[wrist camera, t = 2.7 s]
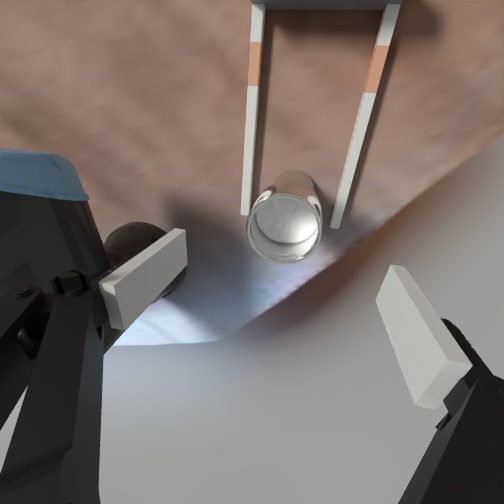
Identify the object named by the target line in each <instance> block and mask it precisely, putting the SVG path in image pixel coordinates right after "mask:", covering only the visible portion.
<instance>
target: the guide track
mask: <svg viewBox="0 0 504 504" xmlns="http://www.w3.org/2000/svg"><path fill="white" fill-rule="evenodd" d="M403 1H404V0H251V2H252V21H251V39H250V57H249V75H248V93H247V111H246V129H245V147H244V165H243V183H242V200H241V215H247V216H249V214H250V209H251V196H252V183H253V170H254V156H255V143H256V130H257V117H258V104H259V90H260V77H261V64H262V51H263V38H264V25H265V11H266V9H300V10H384V11H383V15H382V19H381V23H380V27H379V31H378V35H377V39H376V43H375V47H374V51H373V55H372V59H371V63H370V67H369V70H368V74H367V78H366V82H365V86H364V90H363V94H362V98H361V102H360V106H359V110H358V114H357V118H356V122H355V126H354V130H353V134H352V138H351V142H350V146H349V150H348V154H347V158H346V162H345V166H344V170H343V174H342V178H341V182H340V185H339V189H338V193H337V197H336V201H335V205H334V209H333V213H332V217H331V221H330V228H335V229H339V227H340V223H341V220H342V216H343V212H344V209H345V205H346V201H347V198H348V194H349V191H350V187H351V183H352V180H353V176H354V172H355V169H356V165H357V161H358V158H359V154H360V151H361V147H362V143H363V140H364V136H365V132H366V129H367V125H368V122H369V118H370V114H371V111H372V107H373V103H374V100H375V96H376V92H377V89H378V85H379V82H380V78H381V74H382V71H383V67H384V63H385V60H386V56H387V52H388V49H389V45H390V42H391V38H392V34H393V31H394V27H395V23H396V20H397V16H398V13H399V9H400V5H401V3H402V2H403Z"/></svg>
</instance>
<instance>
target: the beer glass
mask: <svg viewBox="0 0 504 504" xmlns="http://www.w3.org/2000/svg"><path fill="white" fill-rule="evenodd" d="M322 219H323V217H322V207H321V204H320V201H319V198H318V196H317V194H316V193H315V186H314V183H313V181H312V179H311V178H310V177H309V176H308V175H307V174H305V173H304V172H301V171H297V170H291V171H287V172H284V173H283V174H281V175H280V176H279V177H278V178H277V179H276V180H275V182H274V183H273V184H271V185H270V186H268V187H267V188H266V189H265V190H264V191H263V192H262V193H261V194H260V196H259V197H258V199H257V200H256V202H255V204H254V206H253V208H252V210H251V212H250V214H249V216H248V219H247V224H246V232H247V237H248V240H249V242H250V244H251V246H252V247H253V249H254V250H255V251H256V252H257V253H258V254H259V255H260V256H262V257H263V258H265V259H266V260H268V261H271V262H274V263H279V264H291V263H296V262H299V261H301V260H303V259H305V258H307V257H308V256H309V255H311V254H312V253H313V252H314V250H315V249H316V248H317V246H318V244H319V242H320V239H321V235H322Z"/></svg>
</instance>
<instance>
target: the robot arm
mask: <svg viewBox="0 0 504 504" xmlns="http://www.w3.org/2000/svg"><path fill="white" fill-rule="evenodd" d="M87 200H89V196H88V195H87V194H86V193H85V191H84V189H83V187H82V184H81V182H80V179H79V177H78V175H77V172H76V170H75V168H74V166H73V165H72V164H71V163H70V162H69V161H68V160H67V159H66V158H64V157H62V156H60V155H58V154H55V153H50V152H41V151H28V150H13V149H0V430H1V429H2V427H3V425H4V424H5V422H6V420H7V419H8V417H9V415H10V414H11V412H12V410H13V409H14V407H15V405H16V404H17V402H18V400H19V399H20V397H21V396H22V394H23V392H24V391H25V389H26V387H27V386H28V387H27V391H26V394H25V397H24V400H23V403H22V407H21V410H20V413H19V416H18V419H17V423H16V426H15V429H14V432H13V435H12V439H11V442H10V445H9V448H8V451H7V454H6V458H5V461H4V464H3V468H2V470H1V473H0V504H100V497H99V488H98V487H99V458H100V433H101V432H100V431H101V407H102V381H103V379H102V378H103V356H104V354H105V353H106V352H107V351H108V349H109V348H110V347H111V346H112V345H113V344H114V343H115V342H116V340H117V339H118V338H119V337H120V336H121V335H122V334H123V333H124V332H125V331H126V330H127V329H128V328H129V326H130V325H131V324H132V323H133V322H134V321H135V320H136V319H137V318H138V317H139V316H140V315H141V314H142V313H143V311H144V310H145V309H146V308H147V307H148V306H149V305H150V304H152V303H154V302H156V301H158V300H159V299H160V298H163V297H166V296H168V295H170V294H171V293H172V292H174V291H175V290H176V288H177V287H178V286H179V285H180V284H181V282H182V281H183V279H184V276H185V271H186V265H187V264H188V263H187V247H186V232H185V230H183V229H177V228H174V229H173V230H172V231H170V232H169V233H167V234H166V233H165V232H164V231H162V230H161V229H159V228H157V227H155V226H153V225H151V224H148V223H143V222H131V223H128V224H125V225H123V226H121V227H119V228H117V229H116V230H114V231H113V232H112V233H111V234H110V235H109V236H108V238H107V239H106V241H105V242H104V244H103V243H102V240H101V237H100V235H99V232H98V229H97V226H96V223H95V221H94V218H93V215H92V212H91V209H90V207H89V204H88V201H87ZM375 301H376V304H377V306H378V309H379V312H380V314H381V317H382V320H383V322H384V325H385V328H386V330H387V333H388V335H389V338H390V341H391V343H392V346H393V349H394V351H395V354H396V356H397V359H398V362H399V364H400V367H401V370H402V372H403V375H404V378H405V380H406V383H407V386H408V388H409V391H410V393H411V396H412V399H413V401H414V404H415V405H417V406H421V407H425V408H429V409H433V410H437V408H438V407H439V406H440V405H441V404H442V402H444V404H445V406H446V408H447V410H448V413H447V414H446V416H445V417H444V418H443V419H442V420H441V421H440V423H439V424H438V425H437V426H436V428H437V429H438V430H437V432H436V433H435V435H434V437H433V439H432V441H431V443H430V445H429V447H428V449H427V450H426V452H425V454H424V456H423V458H422V460H421V462H420V464H419V465H418V467H417V469H416V471H415V473H414V475H413V477H412V479H411V481H410V482H409V484H408V486H407V488H406V490H405V492H404V494H403V496H402V497H401V499H400V501H399V503H398V504H504V380H503V379H501V378H499V377H496V376H494V375H493V374H492V373H491V371H490V370H489V369H488V367H487V366H486V365H485V363H484V362H483V361H482V359H481V358H480V357H479V356H478V354H477V353H476V351H475V350H474V349H473V348H471V345H470V343H469V342H468V341H467V340H466V338H465V337H464V335H463V334H462V333H461V331H460V330H459V329H458V328H457V327H456V326H455V325H453V324H452V323H451V322H450V321H449V320H447V319H442V318H440V317H439V316H438V314H437V313H436V312H435V310H434V309H433V307H432V306H431V304H430V303H429V301H428V300H427V299H426V297H425V296H424V294H423V293H422V291H421V290H420V288H419V287H418V286H417V284H416V283H415V281H414V280H413V278H412V277H411V275H410V274H409V272H408V271H407V270H406V268H405V267H403V266H397V265H390V267H389V269H388V272H387V274H386V276H385V279H384V281H383V284H382V286H381V288H380V290H379V293H378V295H377V298H376V300H375Z"/></svg>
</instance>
